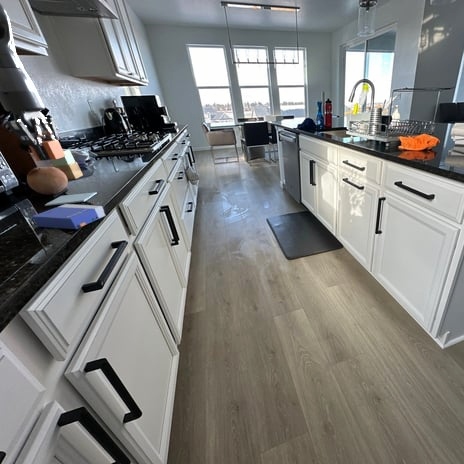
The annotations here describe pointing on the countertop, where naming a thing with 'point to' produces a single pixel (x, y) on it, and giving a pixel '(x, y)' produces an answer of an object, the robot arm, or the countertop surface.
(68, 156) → the middle block
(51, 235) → the countertop surface
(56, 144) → the top cube
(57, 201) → the pad
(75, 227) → the walkman
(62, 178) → the onion
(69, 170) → the bottom block
